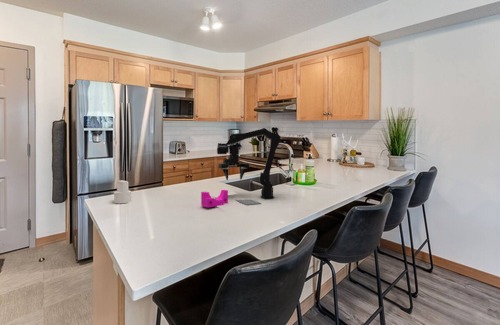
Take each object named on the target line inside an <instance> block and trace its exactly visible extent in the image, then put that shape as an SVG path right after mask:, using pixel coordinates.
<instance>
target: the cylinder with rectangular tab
mask: <svg viewBox="0 0 500 325" xmlns="http://www.w3.org/2000/svg"><path fill="white" fill-rule="evenodd" d="M131 202H132V190H129V181H127V180H117V181H116V191H113V203H114V204H128V203H131Z"/></svg>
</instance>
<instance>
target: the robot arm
mask: <svg viewBox="0 0 500 325" xmlns="http://www.w3.org/2000/svg"><path fill="white" fill-rule="evenodd" d="M260 136H264V137H266V138H267V139H269V140H270V142H269V150H268V154H267V158H266V162H265V165H264V169H263V172H262V171H261V172H260V173H259V178H258V180H259V183H260V185H261V186H262V187H261V194H260V198H262V199H275V196H274V187H273V186H274V184H273V183H272V182H271V181H270V177H271V170H272V166H273V162H274V157H275V154H276V150H277V148H278V147H279V144H280V142H281V140H282V137H281V135H280V134H278V133H273V132H272V131H270V130H268V129H267V128H266V127H263V128H259V129H256V130H251V131H248V132H240V133H239V132H237V133H231V134H230V135H229V137H228V138H229V139H228V140H227V142H226V143H222V142H221V143H217V147H216V153H217V155H227V154H228V153H229V155H228V158H226V157H225V158H223V159H222V163H219V164H218V169H220V170H221V171H222V172H223V173H224V177H225V179H226V180H227V181H228V180H229V168H239V171H240V172H239V180H242V179H243V177H244V175H245V173H246V171H247V170H248V169H250V164H249V163H248V162H247V163H246V162H241V163H240V158H241V156H240V148H243V145H242V144H241V143H240V142H242V141H244V140H246V139H253V138H257V137H260Z"/></svg>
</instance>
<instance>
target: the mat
mask: <svg viewBox="0 0 500 325" xmlns="http://www.w3.org/2000/svg"><path fill="white" fill-rule="evenodd" d="M235 201H236V203H237V202H238V203H239V204H242V205H245V206H255V205H262V202H260V201H256V200H253V199H235Z"/></svg>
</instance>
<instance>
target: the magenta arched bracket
mask: <svg viewBox="0 0 500 325" xmlns="http://www.w3.org/2000/svg"><path fill="white" fill-rule="evenodd" d="M200 193H201V194H200V195H201V196H200V200H201V201H200V202H201V203H200V204H201V207H204V208H214V207H218V206H224V205H227V204H229V190H228V189H221V191H220V194H219V195H218V196H217V197H215V198H214V197H211V195H210V194H211V193H210V192H208V191H201V192H200Z"/></svg>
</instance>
